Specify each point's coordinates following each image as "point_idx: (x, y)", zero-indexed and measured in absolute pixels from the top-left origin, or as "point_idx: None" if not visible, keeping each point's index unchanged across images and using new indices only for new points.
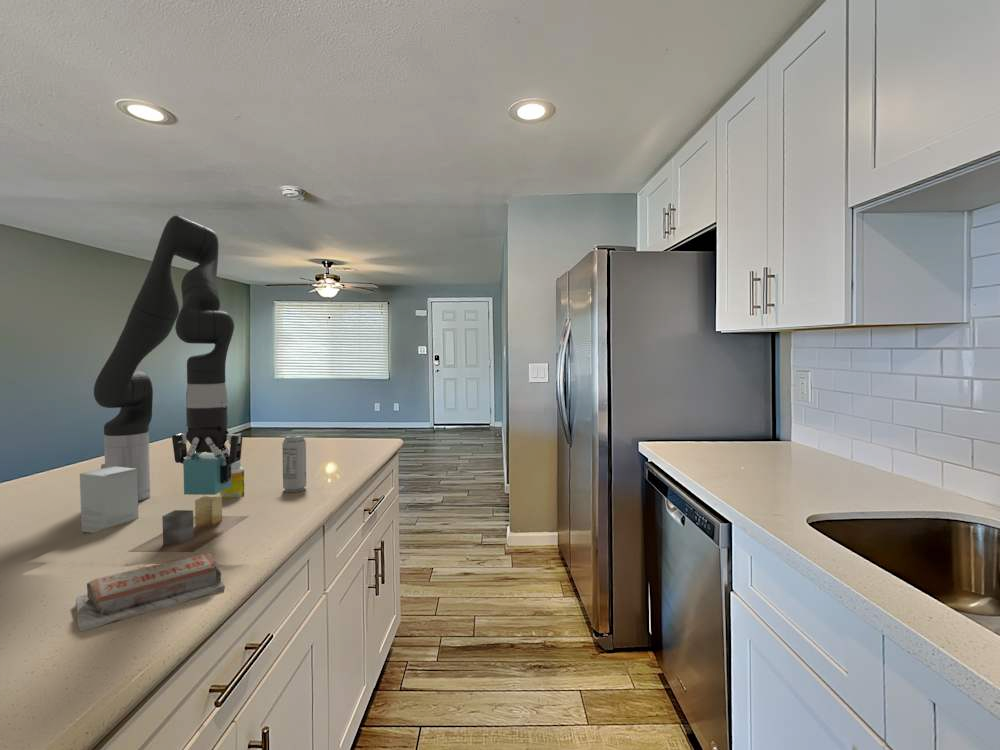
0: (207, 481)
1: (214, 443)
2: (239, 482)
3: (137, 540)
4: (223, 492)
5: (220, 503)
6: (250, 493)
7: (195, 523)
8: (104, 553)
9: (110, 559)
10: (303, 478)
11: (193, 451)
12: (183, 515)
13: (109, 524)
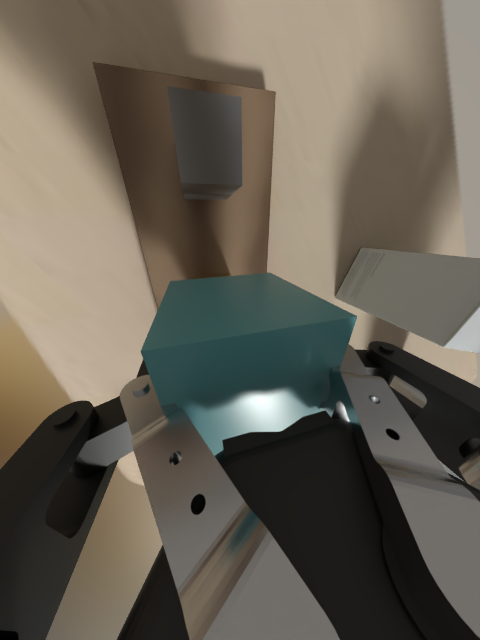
0: (197, 293)
1: (185, 603)
2: None
3: (305, 228)
4: None
5: None
6: None
7: (230, 274)
8: (328, 152)
9: (302, 108)
10: None
11: (357, 401)
12: (170, 107)
13: (370, 256)
